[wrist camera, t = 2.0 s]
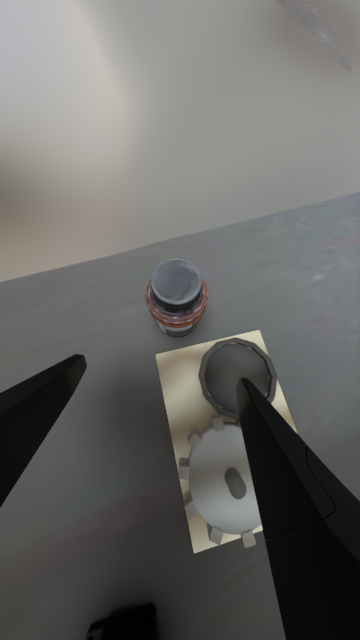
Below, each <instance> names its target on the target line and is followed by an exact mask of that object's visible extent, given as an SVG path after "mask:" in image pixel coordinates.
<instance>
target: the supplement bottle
mask: <svg viewBox="0 0 360 640" xmlns="http://www.w3.org/2000/svg"><path fill="white" fill-rule="evenodd" d="M207 299H208V292H207V288H206V285H205V283H204V281H203V279H202V277H201V274H200V272H199V270H198V268H197V267H196V266H195V265H194V264H193V263H191V262H190V261H188V260H185V259H181V258H172V259H168V260H165V261H163V262H161V263H160V264H159V265H158V266H157V267H156V268H155V269H154V271H153V273H152V276H151V280H150V281H149V283H148V286H147V289H146V302H147V306H148V308H149V311H150V312H151V314H152V316H153V317H154V319H155V321H156V322H157V324H158V326H159V327H160V329H161V330H162V331H163V332H165V333H166V334H167V335H170V336H173V337H181V336H185V335H187V334H189V333H190V332H191V331H193V329H194V328H195V327H196V325H197V323H198V321H199V320H200V318H201V316H202V314H203V312H204V310H205V308H206V305H207Z"/></svg>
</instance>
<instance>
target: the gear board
mask: <svg viewBox="0 0 360 640" xmlns="http://www.w3.org/2000/svg"><path fill="white" fill-rule="evenodd" d="M155 356H156V361H157V366H158V371H159V376H160V381H161V386H162V391H163V397H164V402H165V407H166V412H167V417H168V422H169V427H170V433H171V438H172V443H173V448H174V453H175V458H176V463H177V469H178V474H179V479H180V484H181V489H182V494H183V499H184V508H185V510H186V515H187V520H188V525H189V530H190V535H191V541H192V546H193V551H194V553H197V552H200V551H203V550H206V549H209V548H212V547H215V546H218V545H219V546H220V545H221V544H224V543H227V542H230V541H232V540H235V539H238V538H242V541H243V544H244V546H245V548H248V547H250V546H253V545H256V542H255V538H254V535H253V533H256V532H259V531H262V530H263V528H262V524H261V519H260V514H259V510H258V505H257V500H256V496H255V491H254V486H253V482H252V477H251V472H250V468H249V463H248V458H247V454H246V449H245V444H244V440H243V435H242V430H241V426H240V421H239V414H238V405H237V395H236V386H237V384H238V381H239V379H240V378H241V377H244V378H248V379H250V380H251V382H252V383H253V384H254V385H255V386H256V387H257V388H258V390H259V391H260V392H261V393H262V394H263V395H264V396H265V398H266V399H267V400H268V401H269V402H270V403H271V404H272V406H273V407H274V408H275V409H276V410H277V411H278V412H279V414H280V415H281V416H282V417H283V418H284V419H285V420H286V422H287V423H288V424H289V425H290V426H291V427H292V428H293V430H294V431H295V432H296V433H297V431H296V428H295V426H294V423H293V420H292V418H291V415H290V412H289V409H288V407H287V404H286V401H285V399H284V396H283V393H282V390H281V388H280V385H279V382H278V380H277V375H276V372H275V369H274V367H273V364H272V361H271V359H270V358H269V355H268V353H267V350H266V347H265V344H264V342H263V339H262V336H261V334H260V331H259V330H256V331H252V332H247V333H243V334H239V335H235V336H231V337H227V338H222V339H218V340H214V341H210V342H206V343H202V344H197V345H193V346H189V347H185V348H181V349H177V350H172V351H168V352H164V353H160V354H156V355H155Z"/></svg>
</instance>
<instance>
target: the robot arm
mask: <svg viewBox="0 0 360 640" xmlns="http://www.w3.org/2000/svg"><path fill="white" fill-rule="evenodd" d="M86 367H87V364H86V361H85V357H84V355H80V354H75V355H73V356H71V357H69V358H67V359H65V360H63V361H61V362H59V363H58V364H56V365H54V366H52V367H50V368H48V369H46V370H44V371H42V372H40V373H38V374H36V375H34V376H32V377H30V378H29V379H27V380H25V381H23V382H21V383H19V384H17V385H15V386H13V387H11V388H9V389H7V390H5V391H3V392H1V393H0V507H1V506H2V504H3V503H4V501H5V499H6V498H7V496H8V495H9V493H10V491H11V490H12V488H13V487H14V485H15V484H16V482H17V481H18V479H19V477H20V476H21V474H22V473H23V471H24V470H25V468H26V467H27V465H28V463H29V462H30V460H31V459H32V457H33V456H34V454H35V453H36V451H37V449H38V448H39V446H40V445H41V443H42V442H43V440H44V439H45V437H46V435H47V434H48V432H49V431H50V429H51V428H52V426H53V425H54V423H55V421H56V420H57V418H58V417H59V415H60V414H61V412H62V411H63V409H64V408H65V406H66V404H67V403H68V401H69V400H70V398H71V397H72V395H73V393H74V391H75V389H76V388H77V386H78V384H79V382H80V380H81V378H82V376H83V374H84V372H85V370H86ZM236 395H237V405H238V414H239V421H240V426H241V430H242V435H243V440H244V444H245V449H246V454H247V458H248V463H249V468H250V472H251V477H252V482H253V486H254V491H255V496H256V500H257V505H258V510H259V514H260V519H261V524H262V528H263V533H264V538H265V543H266V548H267V552H268V557H269V562H270V567H271V571H272V576H273V581H274V585H275V590H276V595H277V599H278V604H279V609H280V613H281V618H282V623H283V627H284V632H285V637H286V640H360V501H359V500H358V499H357V498H356V497H355V496H354V495H353V494H352V493H351V492H350V491H349V490H348V489H347V488H346V487H345V486H344V485H343V484H342V483H341V482H340V481H339V480H338V478H337V477H336V476H335V475H334V474H333V473H332V472H331V471H330V470H329V469H328V468H327V467H326V466H325V465H324V463H323V462H322V461H321V460H320V459H319V458H318V457H317V456H316V455H315V453H314V452H313V451H312V450H311V449H310V448H309V447H308V445H306V444H305V442H304V441H303V440H302V439H301V438H300V436H299V435H298V434H297V433H296V432H295V431H294V430H293V428H292V427H291V426H290V425H289V424H288V423H287V422H286V420H285V419H284V418H283V417H282V416H281V415H280V414H279V412H278V411H277V410H276V409H275V408H274V407H273V406H272V404H271V403H270V402H269V401H268V400H267V399H266V398H265V396H264V395H263V394H262V393H261V392H260V391H259V390H258V388H257V387H256V386H255V385H254V384H253V383H252V382H251V380H250V379H248V378H244V377H241V378H240V379H239V381H238V384H237V386H236ZM150 615H151V616H150ZM86 640H160V637H159V630H158V623H157V616H156V609H155V607H154V606H153V605H148V606H145V607H142V608H139V609H136V610H134V611H131V612H128V613H125V614H122V615H120V616H117V617H114V618H111V619H108V620H105V621H103V622H100V623H97V624H94V625H92V626H91V627H90V628H89V630H88V633H87V636H86Z"/></svg>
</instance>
